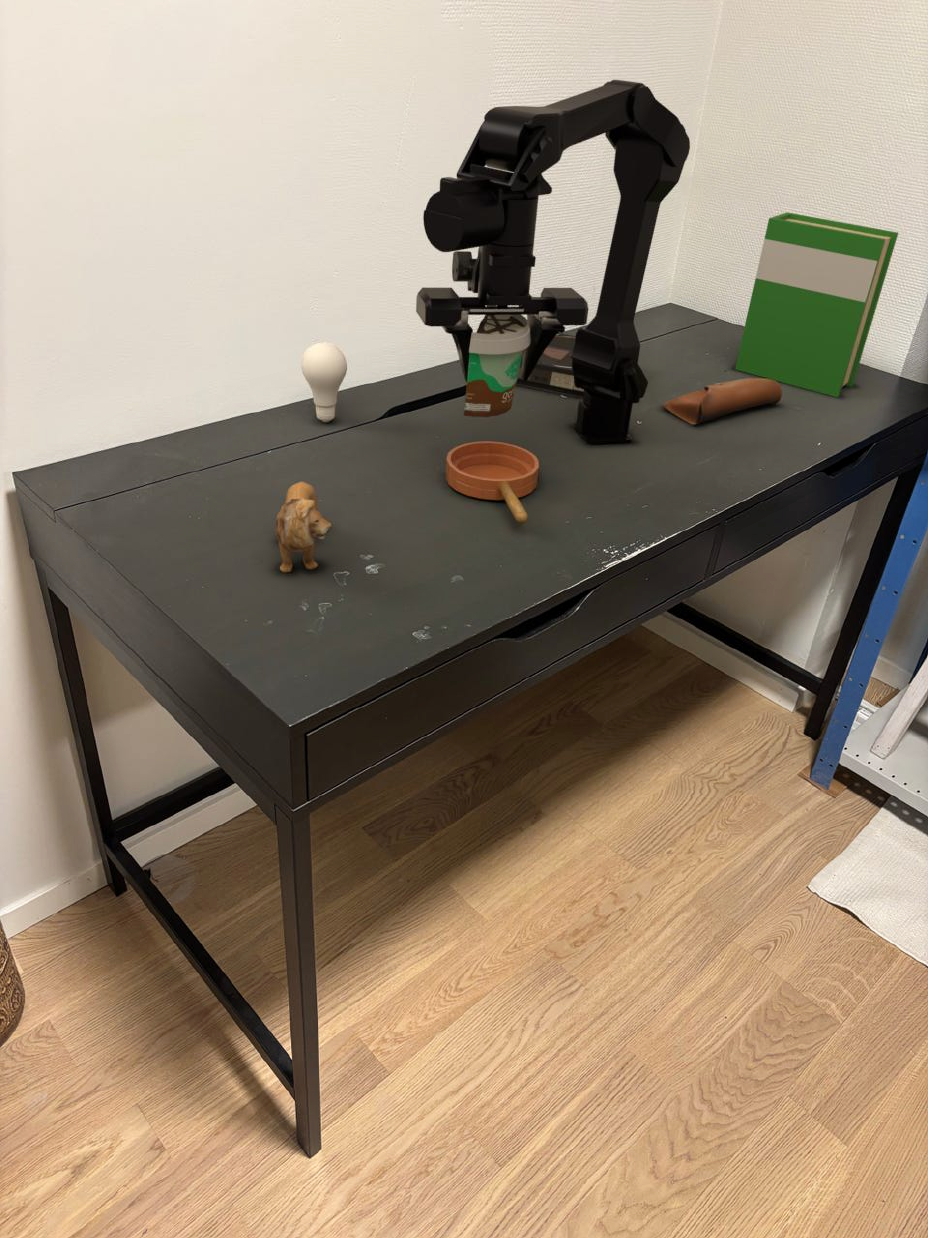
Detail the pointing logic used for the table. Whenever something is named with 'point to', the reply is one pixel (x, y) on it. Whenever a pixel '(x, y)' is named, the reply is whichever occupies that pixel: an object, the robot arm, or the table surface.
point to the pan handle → (513, 502)
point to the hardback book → (814, 301)
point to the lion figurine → (299, 525)
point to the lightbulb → (324, 376)
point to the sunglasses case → (724, 399)
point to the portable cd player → (554, 369)
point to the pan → (491, 469)
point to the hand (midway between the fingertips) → (496, 380)
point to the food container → (495, 364)
